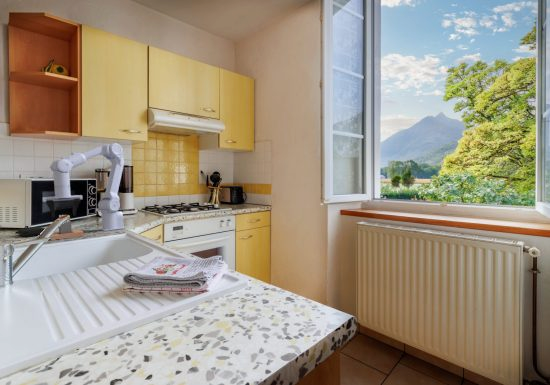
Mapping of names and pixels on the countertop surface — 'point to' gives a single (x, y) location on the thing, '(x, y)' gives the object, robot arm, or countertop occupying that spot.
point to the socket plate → (68, 234)
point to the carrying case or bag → (30, 231)
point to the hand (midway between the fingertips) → (64, 216)
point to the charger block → (65, 228)
